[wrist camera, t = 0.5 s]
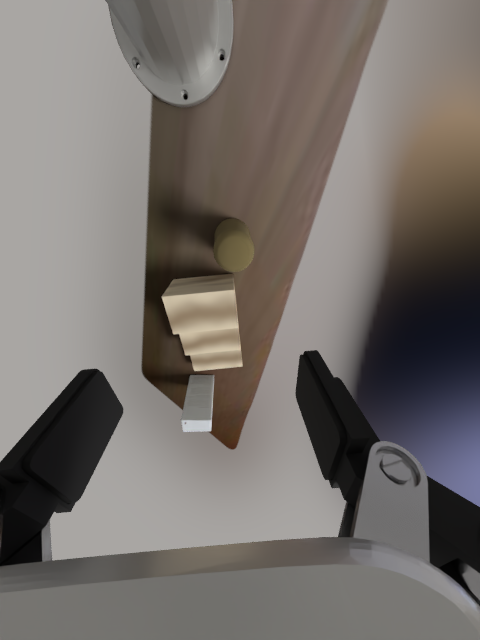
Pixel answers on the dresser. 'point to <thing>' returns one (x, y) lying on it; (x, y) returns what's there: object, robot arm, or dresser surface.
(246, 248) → the cork
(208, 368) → the step stand
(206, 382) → the skincare box
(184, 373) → the dresser surface
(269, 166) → the dresser surface
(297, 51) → the dresser surface
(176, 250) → the dresser surface
